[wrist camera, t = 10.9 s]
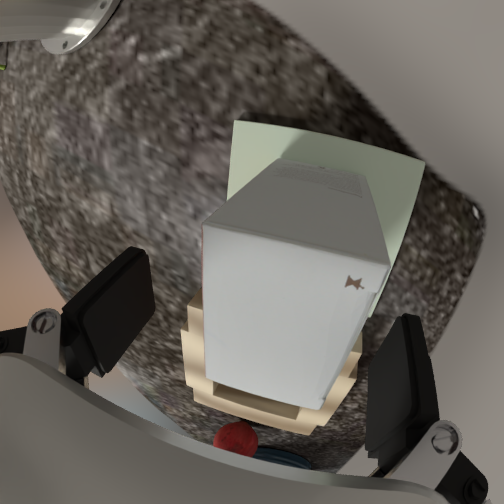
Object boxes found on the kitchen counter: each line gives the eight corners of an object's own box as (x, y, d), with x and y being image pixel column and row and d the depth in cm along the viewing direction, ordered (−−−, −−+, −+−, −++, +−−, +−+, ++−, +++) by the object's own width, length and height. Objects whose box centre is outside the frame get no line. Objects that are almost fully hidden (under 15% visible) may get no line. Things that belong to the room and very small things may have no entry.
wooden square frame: (192, 285, 25) (178, 302, 23) (371, 333, 21) (371, 355, 19) (196, 383, 33) (188, 398, 31) (319, 419, 29) (315, 436, 27)
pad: (237, 119, 17) (234, 120, 16) (423, 160, 15) (425, 162, 14) (224, 274, 23) (221, 278, 23) (370, 312, 21) (370, 317, 20)
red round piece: (231, 405, 33) (208, 456, 26) (271, 422, 33) (253, 473, 26) (220, 419, 36) (199, 463, 29) (256, 434, 36) (238, 479, 29)
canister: (226, 447, 42) (189, 526, 27) (282, 442, 35) (246, 543, 20) (271, 472, 44) (245, 543, 29) (326, 469, 37) (303, 554, 22)
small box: (277, 155, 17) (197, 214, 8) (367, 175, 16) (397, 261, 7) (262, 266, 21) (200, 380, 12) (338, 284, 20) (319, 414, 11)
